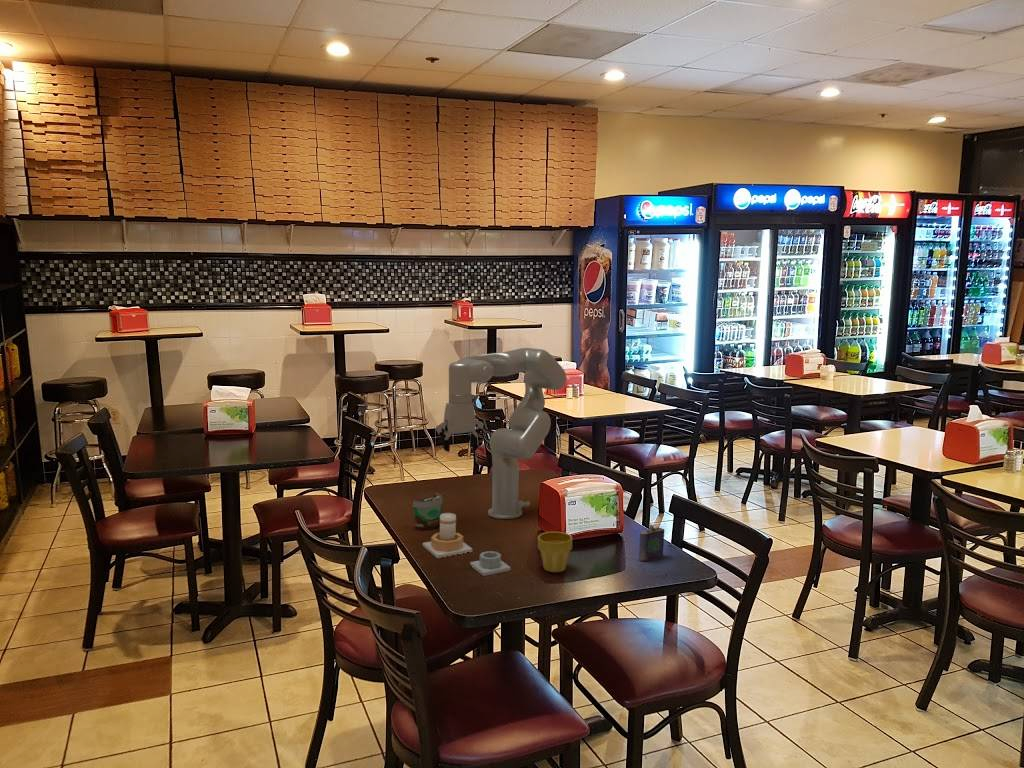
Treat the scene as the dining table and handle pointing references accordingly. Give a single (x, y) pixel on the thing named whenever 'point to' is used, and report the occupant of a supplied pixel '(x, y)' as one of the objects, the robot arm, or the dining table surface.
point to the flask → (651, 544)
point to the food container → (427, 512)
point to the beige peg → (447, 526)
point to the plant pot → (554, 550)
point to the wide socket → (446, 546)
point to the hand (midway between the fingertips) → (460, 449)
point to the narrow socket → (490, 564)
